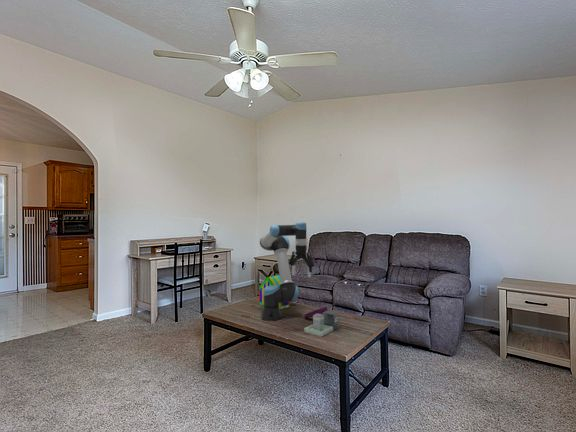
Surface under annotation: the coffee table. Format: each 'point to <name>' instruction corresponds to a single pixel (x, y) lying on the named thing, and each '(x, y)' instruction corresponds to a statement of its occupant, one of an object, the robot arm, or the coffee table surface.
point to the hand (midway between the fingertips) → (301, 276)
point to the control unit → (331, 319)
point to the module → (318, 322)
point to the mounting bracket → (319, 311)
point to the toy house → (268, 282)
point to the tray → (310, 330)
